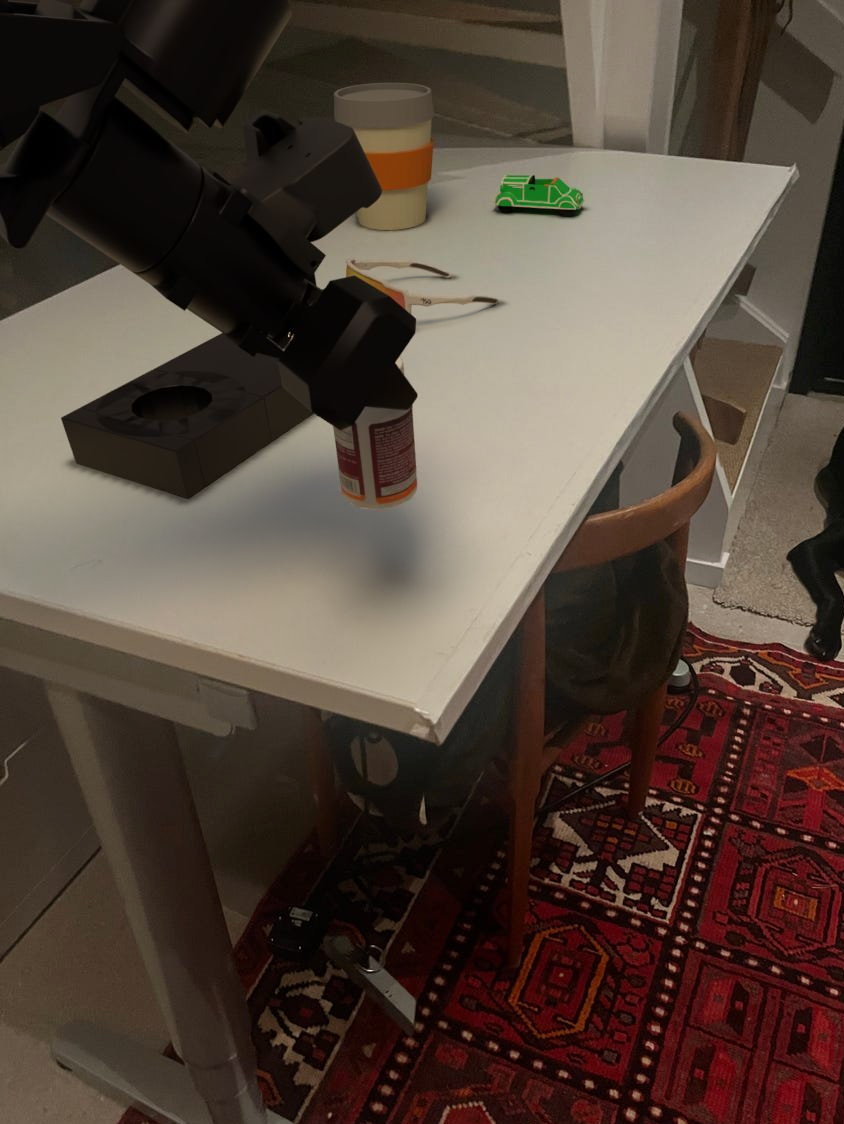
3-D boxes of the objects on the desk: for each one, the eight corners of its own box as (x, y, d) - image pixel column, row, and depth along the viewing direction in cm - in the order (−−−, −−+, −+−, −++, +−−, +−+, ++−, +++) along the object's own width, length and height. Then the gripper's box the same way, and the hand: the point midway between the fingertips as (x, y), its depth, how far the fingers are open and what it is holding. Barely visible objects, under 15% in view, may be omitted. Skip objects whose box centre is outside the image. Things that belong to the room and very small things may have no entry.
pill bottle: (422, 473, 59) (415, 346, 54) (412, 513, 56) (403, 381, 50) (348, 471, 60) (334, 344, 54) (334, 510, 56) (317, 378, 50)
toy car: (491, 213, 126) (490, 178, 123) (500, 202, 129) (500, 168, 127) (578, 218, 123) (579, 182, 120) (584, 207, 127) (586, 172, 124)
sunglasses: (323, 297, 102) (323, 250, 99) (440, 289, 109) (444, 245, 106) (384, 339, 92) (386, 288, 90) (507, 328, 100) (513, 280, 97)
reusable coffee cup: (346, 236, 119) (332, 104, 109) (344, 209, 128) (331, 84, 119) (443, 231, 120) (437, 99, 110) (434, 204, 129) (428, 80, 120)
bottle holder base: (188, 498, 70) (176, 451, 68) (75, 463, 75) (60, 417, 72) (389, 361, 89) (386, 320, 86) (289, 339, 93) (283, 300, 91)
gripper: (357, 90, 35) (573, 318, 47) (187, 37, 47) (392, 228, 59) (199, 340, 37) (445, 499, 48) (74, 226, 49) (295, 376, 60)
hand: (391, 387), depth 54 cm, fingers closed on pill bottle, 4 cm apart
